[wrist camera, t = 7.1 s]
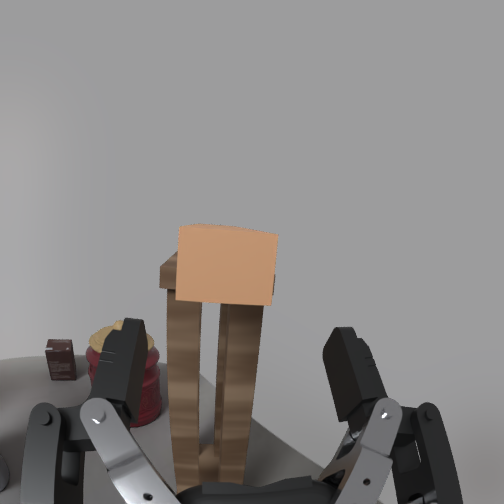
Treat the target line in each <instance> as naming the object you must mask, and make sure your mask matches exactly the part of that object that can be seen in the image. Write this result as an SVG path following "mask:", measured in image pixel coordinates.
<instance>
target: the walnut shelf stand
mask: <svg viewBox="0 0 504 504" xmlns="http://www.w3.org/2000/svg"><path fill="white" fill-rule="evenodd" d="M177 256H178V251H177V252H176V253H175V254H174V255H173V256H171V257H170V258H169V259H168V260H167V261H166V262H165V263H164V264H163V265H162V266H160V288H165V289H167V376H168V398H169V415H170V428H171V440H172V450H173V460H174V469H175V477H176V484H177V494H178V493H180V492H181V491H183V490H185V489H188V488H190V487H193V486H197V485H202V482H231V483H236V484H241V485H243V479H244V471H245V464H246V456H247V448H248V440H249V432H250V424H251V415H252V407H253V399H254V390H255V382H256V373H257V364H258V355H259V346H260V337H261V327H262V318H263V307H264V305H244V304H225V303H221V307H220V321H219V339H218V356H217V375H216V397H215V423H214V444H199V371H200V337H201V336H200V335H201V313H202V302H195V301H182V300H176V274H177ZM274 283H275V274H274ZM274 283H273V292H274ZM272 295H273V293H272Z"/></svg>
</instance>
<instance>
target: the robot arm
mask: <svg viewBox="0 0 504 504" xmlns="http://www.w3.org/2000/svg"><path fill="white" fill-rule="evenodd" d="M147 355H148V340H147V335H146V330H145V325H144V321H143V320H142V319H133V318H125V319H124V321H123V325H122V329H121V330H115V329H112V331H111V332H110V333H109V334H108V335H107V337H106V338H105V340H104V343H103V347H102V352H101V354H100V358H99V361H98V365H97V369H96V373H95V377H94V381H93V385H92V389H91V393H90V395H89V397H88V399H87V400H86V401H85V402H84V403H83V404H81V405H79V406H76V407H68V408H56V407H55V406H53V405H52V404H49V403H40V404H37V405H36V406H35V407H34V408H33V409H32V411H31V414H30V418H29V424H28V429H27V435H26V441H25V448H24V456H23V465H22V476H21V492H20V504H83V479H84V460H85V451H95V450H97V452H98V453H99V455H100V457H101V459H102V460H103V462H104V464H105V466H106V468H107V472H108V475H109V477H110V479H111V480H112V482H113V483H114V485H115V486H116V488H117V489H118V491H119V492H120V494H121V495H122V497H123V498H124V499H125V501H126V502H127V504H376V502H377V500H378V498H379V496H380V494H381V491H382V489H383V487H384V484H385V482H386V479H387V477H388V475H389V472H390V469H391V468H392V473H393V478H394V484H395V489H396V495H397V501H398V504H463V500H462V495H461V490H460V485H459V480H458V476H457V471H456V467H455V464H454V460H453V455H452V452H451V448H450V444H449V441H448V437H447V435H446V431H445V428H444V424H443V421H442V418H441V415H440V412H439V410H438V408H437V407H436V406H435V405H434V404H432V403H427V402H426V403H423V404H421V405H420V406H419V407H418V408H411V407H403V406H400V405H399V404H398V403H397V402H396V401H395V400H393V399H391V398H388V396H387V394H386V392H385V389H384V386H383V383H382V380H381V378H380V375H379V372H378V369H377V367H376V364H375V361H374V359H373V356H372V353H371V351H370V349H369V346H367V344H366V343H365V342H364V341H363V339H362V338H357V336H356V333H355V331H354V329H353V328H352V327H336V328H334V330H333V332H332V333H331V335H330V337H329V339H328V341H327V342H326V344H325V346H324V348H323V361H324V365H325V369H326V373H327V377H328V380H329V384H330V388H331V392H332V396H333V400H334V404H335V408H336V412H337V416H338V420H339V422H343V421H348V425H349V428H348V430H347V431H346V434H345V436H344V438H343V440H342V442H341V444H340V446H339V448H338V450H337V452H336V454H335V456H334V457H333V459H332V461H331V462H330V463H329V465H328V466H327V467H326V468H325V469H324V470H323V472H322V473H321V475H320V477H319V478H318V480H312V479H311V476H305V477H298V478H289V479H284V480H281V481H278V482H275V483H272V484H269V485H266V486H263V487H252V486H247V485H241V484H236V483H231V482H202V485H197V486H193V487H190V488H188V489H185V490H183V491H181V492H180V493H178V494H177V495H176V494H175V492H174V491H173V490H172V489H171V488H170V486H169V485H168V484H167V483H166V481H165V480H164V479H163V478H162V476H161V475H160V474H159V472H158V471H157V470H156V469H155V467H154V466H153V465H152V463H151V462H150V461H149V459H148V458H147V456H146V455H145V453H144V452H143V451H142V449H141V448H140V446H139V445H138V443H137V442H136V440H135V439H134V437H133V436H132V434H131V432H130V423H137V424H138V417H139V408H140V401H141V394H142V387H143V380H144V373H145V367H146V361H147ZM415 440H416V443H417V446H416V443H415ZM417 447H418V451H419V455H420V459H421V463H420V459H419V455H418V451H417ZM8 480H9V470H8V467H7V465H6V463H5V461H4V460H3V458H2V456H1V454H0V491H2V490H3V489H4V488H5V486H6V485H7V483H8Z"/></svg>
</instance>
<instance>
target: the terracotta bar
mask: <svg viewBox="0 0 504 504" xmlns="http://www.w3.org/2000/svg"><path fill="white" fill-rule="evenodd" d="M277 243H278V235H277V234H273V233H267V232H262V231H257V230H251V229H246V228H240V227H233V226H222V225H210V224H193V225H187V226H180V227H179V242H178V256H177V274H176V300H182V301H195V302H209V303H225V304H244V305H267V306H271V302H272V293H273V283H274V273H275V264H276V253H277Z"/></svg>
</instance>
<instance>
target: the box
mask: <svg viewBox="0 0 504 504" xmlns="http://www.w3.org/2000/svg"><path fill="white" fill-rule="evenodd" d="M45 353H46V358H47V363H48V367H49V372H50V376H51V380H76V365H75V359H74V352H73V345H72V340H55V339H54V340H53V339H49V340H48V342H47V347H46V350H45Z"/></svg>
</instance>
